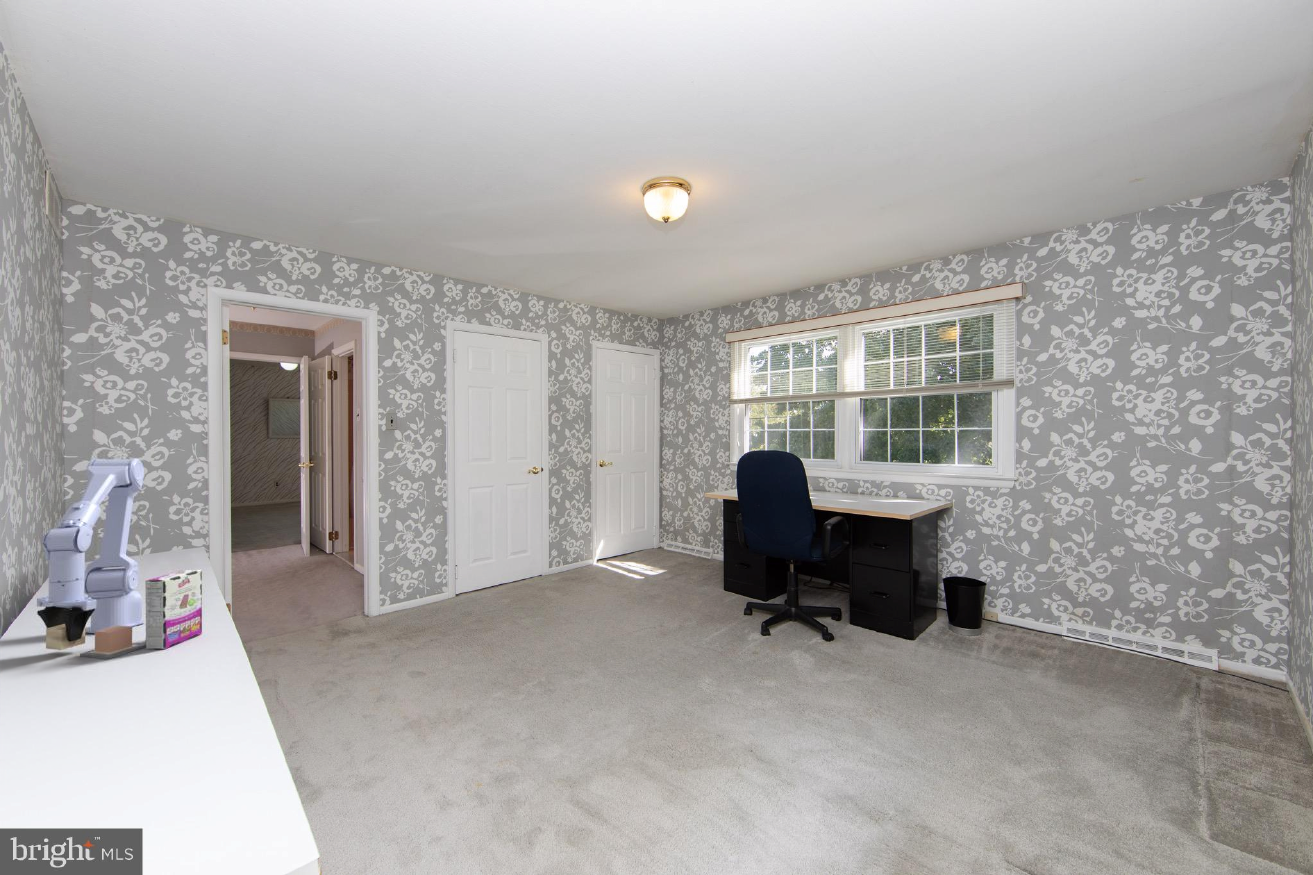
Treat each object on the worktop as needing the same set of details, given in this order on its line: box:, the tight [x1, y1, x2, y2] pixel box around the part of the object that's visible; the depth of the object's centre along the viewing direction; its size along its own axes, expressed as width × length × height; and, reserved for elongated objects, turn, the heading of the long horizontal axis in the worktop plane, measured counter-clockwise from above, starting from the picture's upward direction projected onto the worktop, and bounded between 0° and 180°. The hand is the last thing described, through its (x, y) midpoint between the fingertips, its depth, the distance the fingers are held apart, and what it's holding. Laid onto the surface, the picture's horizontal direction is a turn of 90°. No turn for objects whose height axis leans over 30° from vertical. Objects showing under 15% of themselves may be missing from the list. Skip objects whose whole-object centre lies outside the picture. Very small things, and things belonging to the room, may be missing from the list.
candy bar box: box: [145, 569, 203, 650], centre depth 139 cm, size 11×5×16 cm, turn 0°
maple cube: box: [45, 624, 86, 651], centre depth 131 cm, size 4×4×4 cm
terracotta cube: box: [94, 625, 133, 653], centre depth 132 cm, size 4×4×4 cm
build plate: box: [79, 642, 146, 660], centre depth 132 cm, size 8×8×1 cm
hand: (65, 639), depth 131 cm, fingers closed on maple cube, 4 cm apart
